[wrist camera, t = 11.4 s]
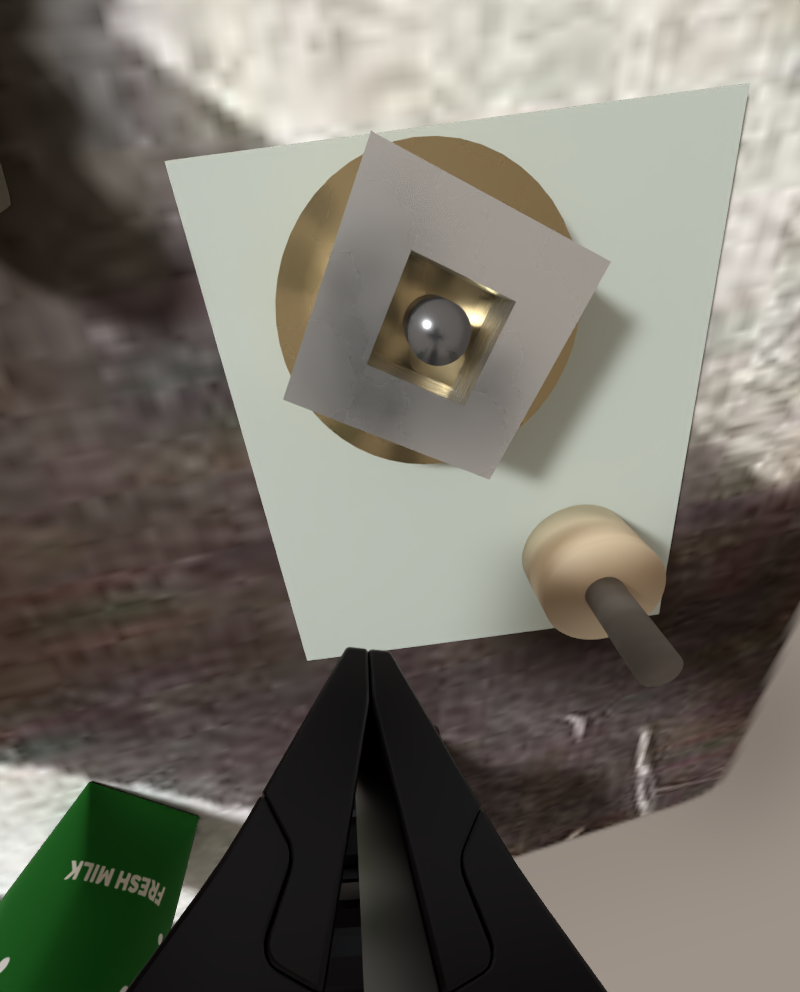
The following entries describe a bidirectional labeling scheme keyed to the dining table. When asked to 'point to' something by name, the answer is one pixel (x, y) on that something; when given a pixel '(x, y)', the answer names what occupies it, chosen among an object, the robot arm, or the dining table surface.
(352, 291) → the square ring
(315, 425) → the mat
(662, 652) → the stand
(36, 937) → the milk carton
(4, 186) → the valve
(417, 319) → the bell
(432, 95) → the dining table surface
